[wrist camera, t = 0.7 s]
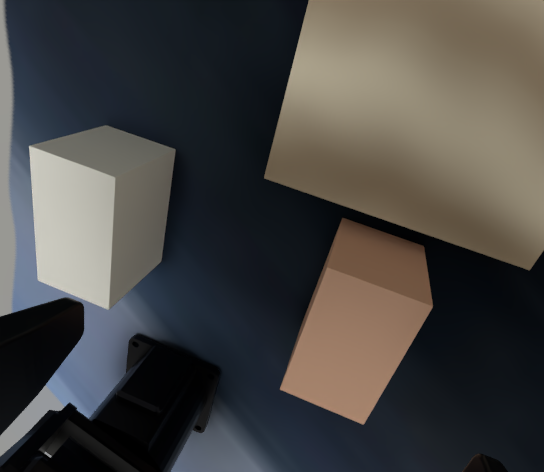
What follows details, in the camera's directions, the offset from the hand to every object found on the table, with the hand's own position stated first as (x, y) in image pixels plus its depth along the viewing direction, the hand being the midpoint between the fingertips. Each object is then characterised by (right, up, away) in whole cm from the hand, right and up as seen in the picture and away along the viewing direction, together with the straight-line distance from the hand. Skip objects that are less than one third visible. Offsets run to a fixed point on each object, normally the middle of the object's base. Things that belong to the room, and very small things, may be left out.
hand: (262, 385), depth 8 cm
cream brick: (-7, +5, +13) cm, 16 cm away
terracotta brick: (+5, +1, +12) cm, 13 cm away
